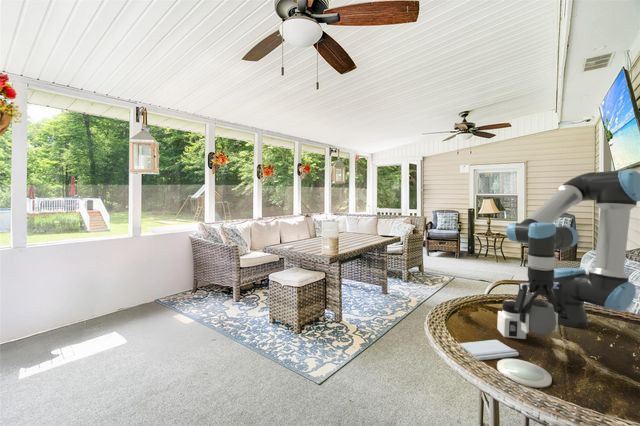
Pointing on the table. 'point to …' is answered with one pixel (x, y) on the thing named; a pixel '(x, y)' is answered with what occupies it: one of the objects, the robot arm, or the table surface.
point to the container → (510, 321)
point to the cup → (541, 317)
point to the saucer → (524, 372)
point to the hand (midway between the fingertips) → (539, 330)
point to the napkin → (488, 349)
